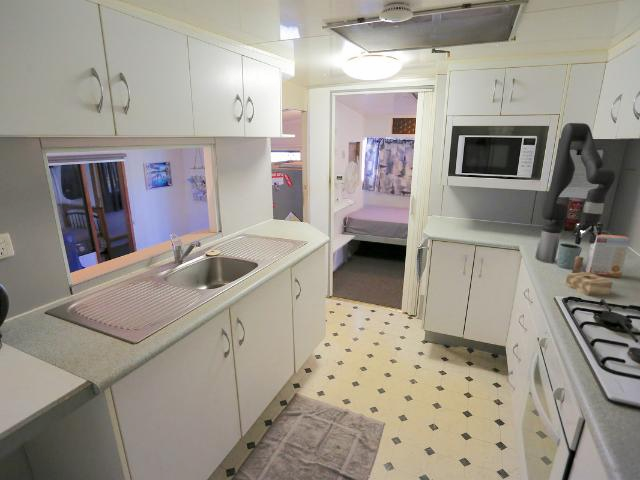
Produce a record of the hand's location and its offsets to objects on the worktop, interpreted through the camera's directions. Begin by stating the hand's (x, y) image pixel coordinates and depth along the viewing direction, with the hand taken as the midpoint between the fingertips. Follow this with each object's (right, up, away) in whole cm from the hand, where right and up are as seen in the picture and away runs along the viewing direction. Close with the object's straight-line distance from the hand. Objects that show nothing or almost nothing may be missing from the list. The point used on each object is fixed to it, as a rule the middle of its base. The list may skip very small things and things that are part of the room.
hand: (584, 243), depth 176 cm
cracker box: (+17, -16, +11) cm, 26 cm away
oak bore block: (-5, -21, -8) cm, 23 cm away
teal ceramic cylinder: (+6, -13, +22) cm, 26 cm away
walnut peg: (-1, -17, +5) cm, 18 cm away
